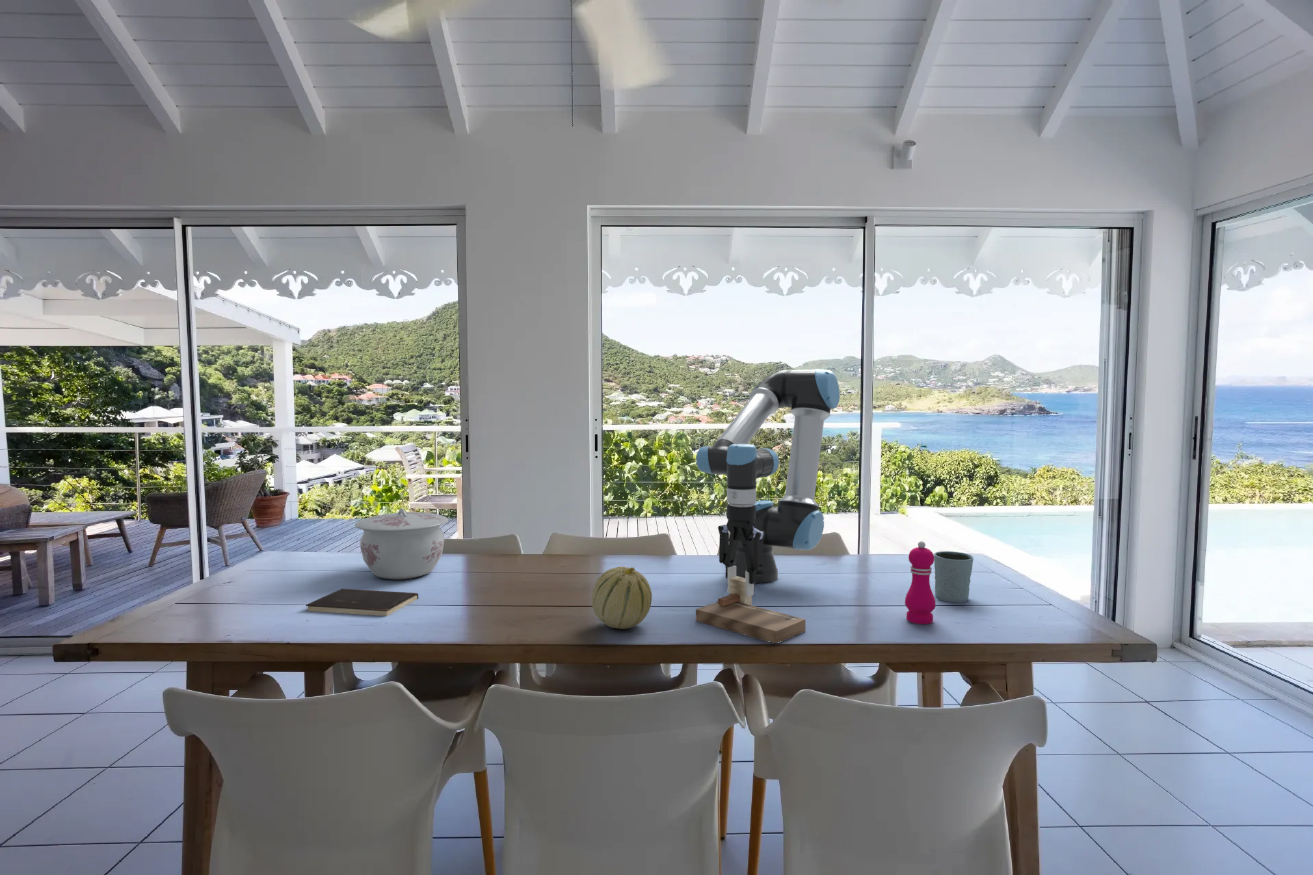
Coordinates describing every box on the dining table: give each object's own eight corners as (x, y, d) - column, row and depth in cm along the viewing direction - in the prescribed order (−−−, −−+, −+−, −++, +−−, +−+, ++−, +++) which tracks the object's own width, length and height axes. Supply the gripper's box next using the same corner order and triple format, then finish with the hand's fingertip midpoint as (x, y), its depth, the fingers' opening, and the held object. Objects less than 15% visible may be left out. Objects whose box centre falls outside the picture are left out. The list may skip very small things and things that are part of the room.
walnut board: (696, 620, 186) (696, 608, 186) (726, 610, 194) (726, 598, 194) (776, 644, 169) (776, 630, 169) (805, 631, 178) (805, 618, 178)
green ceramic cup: (942, 590, 213) (943, 549, 212) (978, 598, 206) (979, 555, 205) (926, 597, 206) (927, 555, 205) (962, 605, 199) (964, 561, 198)
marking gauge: (713, 614, 190) (713, 583, 189) (739, 604, 198) (740, 575, 197) (728, 618, 186) (729, 586, 186) (755, 608, 194) (755, 578, 194)
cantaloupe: (597, 616, 189) (597, 558, 188) (654, 618, 188) (654, 559, 187) (585, 636, 175) (585, 573, 174) (648, 638, 173) (648, 574, 172)
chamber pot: (411, 590, 213) (409, 518, 212) (335, 581, 223) (333, 512, 221) (468, 567, 240) (467, 503, 238) (398, 560, 249) (396, 498, 248)
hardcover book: (386, 618, 189) (386, 609, 189) (306, 613, 194) (305, 604, 194) (418, 600, 205) (418, 592, 205) (343, 596, 209) (343, 587, 209)
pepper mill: (899, 616, 190) (901, 538, 188) (927, 615, 190) (929, 538, 189) (911, 625, 182) (913, 544, 181) (940, 624, 183) (942, 544, 182)
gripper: (704, 502, 195) (704, 589, 197) (761, 510, 183) (760, 603, 184) (722, 498, 201) (722, 584, 202) (779, 506, 188) (777, 597, 190)
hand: (740, 593), depth 193 cm, fingers closed on marking gauge, 5 cm apart
